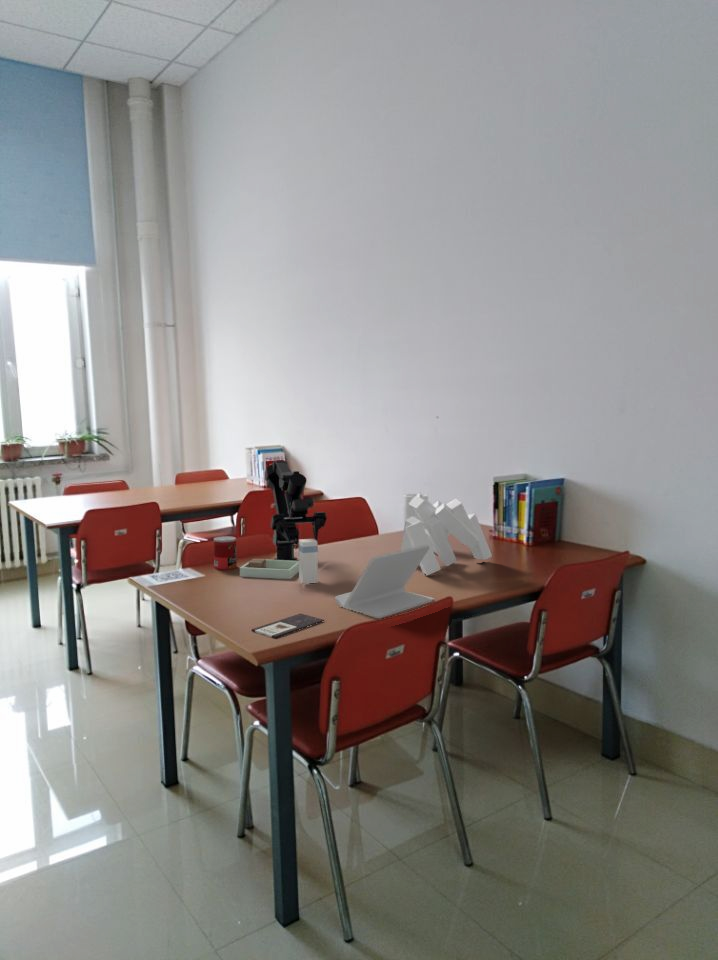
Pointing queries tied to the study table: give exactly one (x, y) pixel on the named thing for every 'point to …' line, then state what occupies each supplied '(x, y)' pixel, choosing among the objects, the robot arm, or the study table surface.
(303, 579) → the carton
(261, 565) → the walnut block
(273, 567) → the pale green tray
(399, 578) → the tablet stand
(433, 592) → the study table surface
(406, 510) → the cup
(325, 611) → the study table surface
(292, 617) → the chocolate bar
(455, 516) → the white geometric sculpture
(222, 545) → the canned food
